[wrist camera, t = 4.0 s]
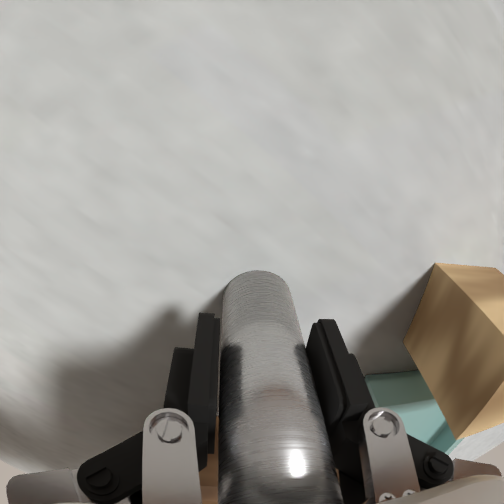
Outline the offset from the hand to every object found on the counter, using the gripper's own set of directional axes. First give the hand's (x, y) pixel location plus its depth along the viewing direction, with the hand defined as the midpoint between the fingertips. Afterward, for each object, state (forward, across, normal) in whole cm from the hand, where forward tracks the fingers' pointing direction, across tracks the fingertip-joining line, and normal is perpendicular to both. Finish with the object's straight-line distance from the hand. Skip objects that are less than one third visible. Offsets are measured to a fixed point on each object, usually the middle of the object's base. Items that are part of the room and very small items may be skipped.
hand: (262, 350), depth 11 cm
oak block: (+3, -11, 0) cm, 11 cm away
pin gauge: (+3, 0, 0) cm, 3 cm away
